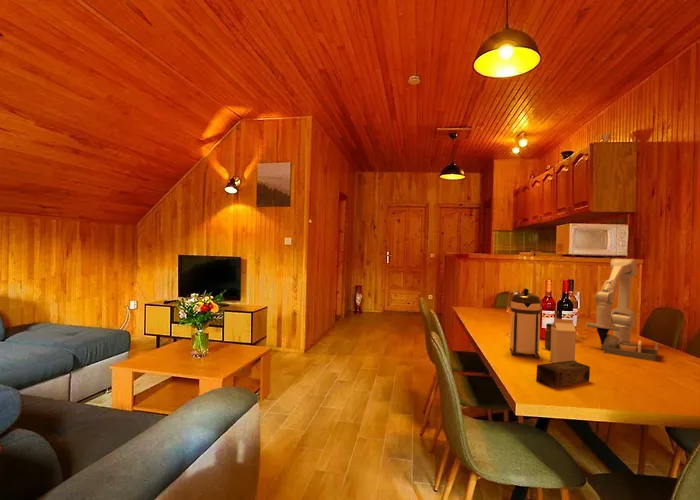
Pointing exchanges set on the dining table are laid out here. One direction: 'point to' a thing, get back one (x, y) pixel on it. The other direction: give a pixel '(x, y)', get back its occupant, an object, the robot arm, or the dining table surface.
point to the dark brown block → (562, 373)
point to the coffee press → (525, 324)
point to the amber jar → (627, 346)
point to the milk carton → (562, 341)
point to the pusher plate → (639, 346)
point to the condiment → (548, 336)
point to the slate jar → (610, 341)
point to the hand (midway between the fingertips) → (602, 344)
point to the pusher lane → (635, 353)
